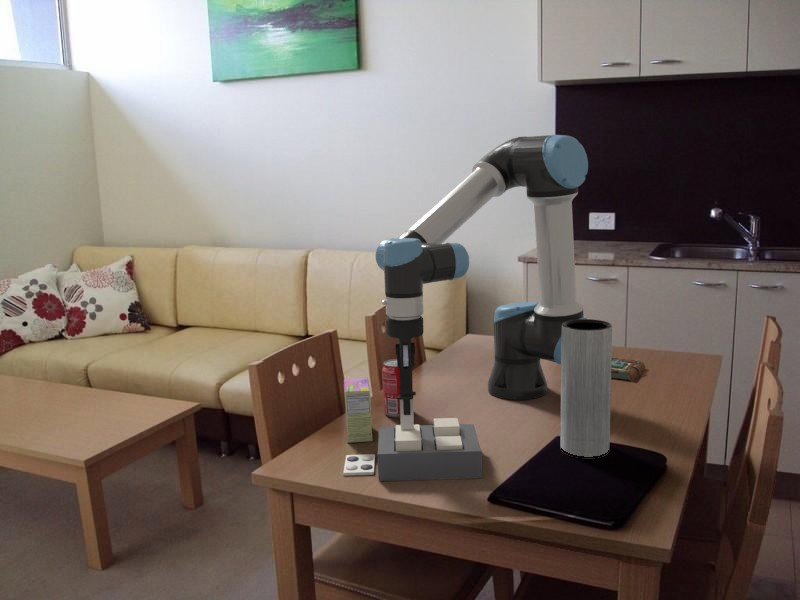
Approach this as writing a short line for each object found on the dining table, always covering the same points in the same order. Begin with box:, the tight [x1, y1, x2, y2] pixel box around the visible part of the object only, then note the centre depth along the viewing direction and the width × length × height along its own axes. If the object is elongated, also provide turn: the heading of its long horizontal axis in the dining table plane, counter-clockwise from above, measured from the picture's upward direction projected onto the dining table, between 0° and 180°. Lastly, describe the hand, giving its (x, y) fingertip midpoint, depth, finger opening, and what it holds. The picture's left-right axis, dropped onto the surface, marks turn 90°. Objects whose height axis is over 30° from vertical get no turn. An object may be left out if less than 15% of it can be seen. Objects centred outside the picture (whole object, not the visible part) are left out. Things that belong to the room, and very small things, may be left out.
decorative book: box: [611, 356, 646, 382], centre depth 212 cm, size 13×18×5 cm
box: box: [343, 377, 373, 444], centre depth 172 cm, size 10×6×12 cm, turn 5°
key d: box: [395, 431, 422, 451], centre depth 151 cm, size 5×5×4 cm
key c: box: [436, 436, 463, 450], centre depth 151 cm, size 5×5×4 cm
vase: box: [559, 318, 613, 457], centre depth 158 cm, size 10×10×27 cm
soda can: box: [381, 358, 401, 419], centre depth 184 cm, size 7×7×13 cm
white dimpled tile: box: [342, 453, 376, 477], centre depth 155 cm, size 6×9×1 cm, turn 0°
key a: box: [433, 417, 460, 437], centre depth 158 cm, size 5×5×4 cm
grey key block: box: [377, 423, 483, 482], centre depth 155 cm, size 20×15×6 cm
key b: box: [395, 423, 421, 432], centre depth 158 cm, size 5×5×4 cm
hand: (407, 427), depth 157 cm, fingers closed, pressing on key b
